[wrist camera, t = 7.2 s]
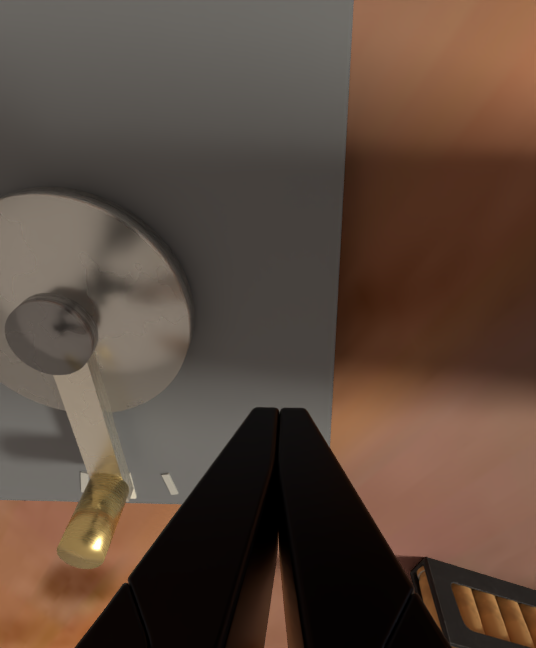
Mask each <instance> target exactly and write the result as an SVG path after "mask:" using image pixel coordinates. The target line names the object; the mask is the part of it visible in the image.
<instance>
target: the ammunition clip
mask: <svg viewBox="0 0 536 648" xmlns="http://www.w3.org/2000/svg"><path fill="white" fill-rule="evenodd" d="M410 574H411V578H412V582H413V586H414V589H415V593H417V594H419V596H420V597H421V599H422V600H423V602H424V604H425V605H426V607H427V609H428V610H429V612H430V614H431V615H432V617H433V619H434V620H435V622H436V624H437V625H438V627H439V628H440V630H441V631H442V633H443V635H444V636H445V638H446V639H447V641H448V642H449V644H450V645H451V647H452V648H536V590H533V589H530V588H526V587H523V586H520V585H516V584H513V583H510V582H507V581H503V580H500V579H497V578H493V577H490V576H487V575H484V574H480V573H477V572H474V571H471V570H467V569H464V568H461V567H457V566H454V565H451V564H448V563H444V562H441V561H438V560H435V559H431V558H428V557H426V558H425V559H423V560H422V561H421V562H420V563H419V564H418V565H417V566H416V567H415V568H414V569H413V570H412V571H411V572H410Z"/></svg>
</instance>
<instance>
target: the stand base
mask: <svg viewBox="0 0 536 648" xmlns="http://www.w3.org/2000/svg"><path fill="white" fill-rule="evenodd" d="M353 4H354V0H0V197H3V196H5V195H7V194H9V193H12V192H16V191H19V190H23V189H27V188H36V187H62V188H68V189H75V190H80V191H83V192H87V193H90V194H94V195H97V196H99V197H101V198H104V199H106V200H109V201H111V202H113V203H115V204H117V205H119V206H120V207H122V208H124V209H126V210H128V211H129V212H131V213H132V214H133V215H135V216H136V217H138V218H139V219H140V220H142V221H143V222H144V223H146V224H147V225H148V226H149V227H150V228H151V229H152V230H153V231H154V232H156V233H157V234H158V236H159V237H160V238H161V239H162V240H163V241H164V242H165V243H166V245H167V246H168V247H169V248H170V250H171V251H172V253H173V254H174V256H175V257H176V258H177V260H178V262H179V263H180V265H181V267H182V269H183V271H184V273H185V275H186V278H187V280H188V283H189V286H190V289H191V293H192V298H193V302H194V314H195V318H194V330H193V334H192V338H191V342H190V345H189V348H188V351H187V354H186V356H185V359H184V361H183V364H182V366H181V368H180V370H179V372H178V373H177V375H176V376H175V378H174V379H173V381H172V382H171V383H170V384H169V385H168V386H167V387H166V388H165V389H164V390H163V391H162V392H161V393H159V394H158V395H157V396H155V397H154V398H152V399H150V400H149V401H147V402H145V403H143V404H141V405H138V406H136V407H134V408H130V409H127V410H123V411H118V412H112V414H113V418H114V421H115V425H116V428H117V432H118V435H119V439H120V442H121V446H122V449H123V453H124V456H125V460H126V463H127V467H128V470H129V474H130V477H131V481H132V484H133V488H134V489H133V492H132V495H131V498H130V500H129V502H125V503H154V504H183V503H184V501H185V500H186V499H187V497H188V496H189V494H190V493H191V492H192V490H193V489H194V488H195V486H196V485H197V484H198V482H199V481H200V480H201V478H202V477H203V476H204V474H205V473H206V471H207V470H208V469H209V467H210V466H211V465H212V463H213V462H214V461H215V459H216V458H217V457H218V455H219V454H220V452H221V451H222V450H223V448H224V447H225V446H226V444H227V443H228V442H229V440H230V439H231V438H232V436H233V435H234V434H235V432H236V431H237V429H238V428H239V427H240V425H241V424H242V423H243V421H244V420H245V419H246V417H247V416H248V415H249V413H250V412H251V411H252V409H254V408H256V407H276V408H278V409H279V412H280V410H281V409H282V408H285V407H287V408H305V409H306V410H307V411H308V412H309V414H310V416H311V417H312V419H313V421H314V422H315V424H316V426H317V427H318V429H319V431H320V432H321V434H322V436H323V437H324V439H325V441H326V442H327V444H328V446H329V447H330V434H331V416H332V397H333V378H334V359H335V341H336V322H337V303H338V285H339V266H340V247H341V228H342V210H343V191H344V172H345V153H346V135H347V116H348V97H349V78H350V60H351V41H352V22H353ZM89 480H90V478H89V475H88V473H87V470H86V467H85V464H84V461H83V458H82V456H81V453H80V450H79V447H78V444H77V441H76V438H75V436H74V433H73V430H72V427H71V424H70V421H69V418H68V416H67V413H66V411H64V410H60V409H56V408H52V407H49V406H46V405H43V404H40V403H37V402H35V401H33V400H31V399H28V398H26V397H24V396H22V395H20V394H18V393H17V392H15V391H13V390H11V389H9V388H8V387H6V386H5V385H3V384H2V383H0V500H31V501H72V502H79V501H80V498H81V496H82V494H83V492H84V490H85V488H86V486H87V484H88V482H89Z"/></svg>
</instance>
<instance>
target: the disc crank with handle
mask: <svg viewBox="0 0 536 648" xmlns="http://www.w3.org/2000/svg"><path fill="white" fill-rule="evenodd" d="M194 318H195V314H194V302H193V298H192V293H191V289H190V286H189V283H188V280H187V278H186V275H185V273H184V271H183V269H182V267H181V265H180V263H179V262H178V260H177V258H176V257H175V256H174V254H173V253H172V251H171V250H170V248H169V247H168V246H167V245H166V243H165V242H164V241H163V240H162V239H161V238H160V237H159V236H158V234H157V233H156V232H154V231H153V230H152V229H151V228H150V227H149V226H148V225H147V224H146V223H144V222H143V221H142V220H140V219H139V218H138V217H136V216H135V215H133V214H132V213H131V212H129V211H128V210H126V209H124V208H122V207H120V206H119V205H117V204H115V203H113V202H111V201H109V200H106V199H104V198H101V197H99V196H97V195H94V194H90V193H87V192H83V191H80V190H75V189H68V188H62V187H36V188H27V189H23V190H19V191H16V192H12V193H9V194H7V195H5V196H3V197H0V383H2V384H3V385H5V386H6V387H8V388H9V389H11V390H13V391H15V392H17V393H18V394H20V395H22V396H24V397H26V398H28V399H31V400H33V401H35V402H37V403H40V404H43V405H46V406H49V407H52V408H56V409H60V410H64V411H66V413H67V416H68V418H69V421H70V424H71V427H72V430H73V433H74V436H75V438H76V441H77V444H78V447H79V450H80V453H81V456H82V458H83V461H84V464H85V467H86V470H87V473H88V475H89V478H90V480H89V482H88V484H87V486H86V488H85V490H84V492H83V494H82V496H81V498H80V501H79V503H78V505H77V507H76V509H75V511H74V513H73V515H72V517H71V520H70V522H69V524H68V526H67V528H66V530H65V532H64V534H63V537H62V539H61V541H60V543H59V545H58V547H57V554H58V556H59V557H60V558H61V559H62V560H63V561H64V562H65V563H67V564H69V565H71V566H74V567H77V568H82V569H92V568H96V567H98V566H100V565H101V564H102V563H103V562H104V559H105V556H106V554H107V551H108V548H109V546H110V543H111V540H112V538H113V535H114V532H115V529H116V527H117V524H118V521H119V519H120V516H121V513H122V511H123V508H124V505H125V502H129V500H130V498H131V495H132V492H133V489H134V488H133V484H132V481H131V477H130V474H129V470H128V467H127V463H126V460H125V456H124V453H123V449H122V446H121V442H120V439H119V435H118V432H117V428H116V425H115V421H114V418H113V414H112V412H118V411H123V410H127V409H130V408H134V407H136V406H138V405H141V404H143V403H145V402H147V401H149V400H150V399H152V398H154V397H155V396H157V395H158V394H159V393H161V392H162V391H163V390H164V389H165V388H166V387H167V386H168V385H169V384H170V383H171V382H172V381H173V379H174V378H175V376H176V375H177V373H178V372H179V370H180V368H181V366H182V364H183V361H184V359H185V356H186V354H187V351H188V348H189V345H190V342H191V338H192V334H193V330H194Z"/></svg>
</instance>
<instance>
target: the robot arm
mask: <svg viewBox="0 0 536 648" xmlns="http://www.w3.org/2000/svg"><path fill="white" fill-rule="evenodd" d="M278 534H279V557H280V570H281V580H282V590H283V601H284V611H285V622H286V632H287V642H288V648H452V647H451V645H450V644H449V642H448V641H447V639H446V638H445V636H444V635H443V633H442V631H441V630H440V628H439V627H438V625H437V624H436V622H435V620H434V619H433V617H432V615H431V614H430V612H429V610H428V609H427V607H426V605H425V604H424V602H423V600H422V599H421V597H420V596H419V594H417V593H414V590H415V589H414V586H413V585H412V583H411V581H410V580H409V578H408V576H407V575H406V573H405V571H404V570H403V568H402V566H401V565H400V563H399V561H398V560H397V558H396V556H395V555H394V553H393V551H392V550H391V548H390V546H389V545H388V543H387V542H386V540H385V538H384V537H383V535H382V533H381V532H380V530H379V528H378V527H377V525H376V523H375V522H374V520H373V518H372V517H371V515H370V513H369V512H368V510H367V508H366V507H365V505H364V503H363V502H362V500H361V498H360V497H359V495H358V494H357V492H356V490H355V489H354V487H353V485H352V484H351V482H350V480H349V479H348V477H347V475H346V474H345V472H344V470H343V469H342V467H341V465H340V464H339V462H338V460H337V459H336V457H335V455H334V454H333V452H332V451H331V449H330V447H329V446H328V444H327V442H326V441H325V439H324V437H323V436H322V434H321V432H320V431H319V429H318V427H317V426H316V424H315V422H314V421H313V419H312V417H311V416H310V414H309V412H308V411H307V410H306V409H305V408H287V407H285V408H282V409H281V410H280V412H279V409H278V408H276V407H256V408H254V409H252V411H251V412H250V413H249V415H248V416H247V417H246V419H245V420H244V421H243V423H242V424H241V425H240V427H239V428H238V429H237V431H236V432H235V434H234V435H233V436H232V438H231V439H230V440H229V442H228V443H227V444H226V446H225V447H224V448H223V450H222V451H221V452H220V454H219V455H218V457H217V458H216V459H215V461H214V462H213V463H212V465H211V466H210V467H209V469H208V470H207V471H206V473H205V474H204V476H203V477H202V478H201V480H200V481H199V482H198V484H197V485H196V486H195V488H194V489H193V490H192V492H191V493H190V494H189V496H188V497H187V499H186V500H185V501H184V503H183V504H182V505H181V507H180V508H179V509H178V511H177V512H176V513H175V515H174V516H173V518H172V519H171V520H170V522H169V523H168V524H167V526H166V527H165V528H164V530H163V531H162V532H161V534H160V535H159V536H158V538H157V539H156V541H155V542H154V543H153V545H152V546H151V547H150V549H149V550H148V551H147V553H146V554H145V555H144V557H143V558H142V560H141V561H140V562H139V564H138V565H137V566H136V568H135V569H134V570H133V572H132V573H131V574H130V576H129V577H128V583H129V584H128V583H124V584H123V585H122V586H121V587H120V589H119V590H118V592H117V593H116V594H115V596H114V597H113V598H112V600H111V601H110V602H109V604H108V605H107V607H106V608H105V609H104V611H103V612H102V613H101V615H100V616H99V617H98V618H97V620H96V621H95V622H94V624H93V625H92V626H91V627H90V629H89V630H88V631H87V633H86V634H85V635H84V636H83V638H82V639H81V640H80V642H79V643H78V644H77V645H76V647H75V648H264V644H265V637H266V630H267V623H268V616H269V609H270V602H271V595H272V588H273V582H274V575H275V568H276V560H277V551H278Z"/></svg>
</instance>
